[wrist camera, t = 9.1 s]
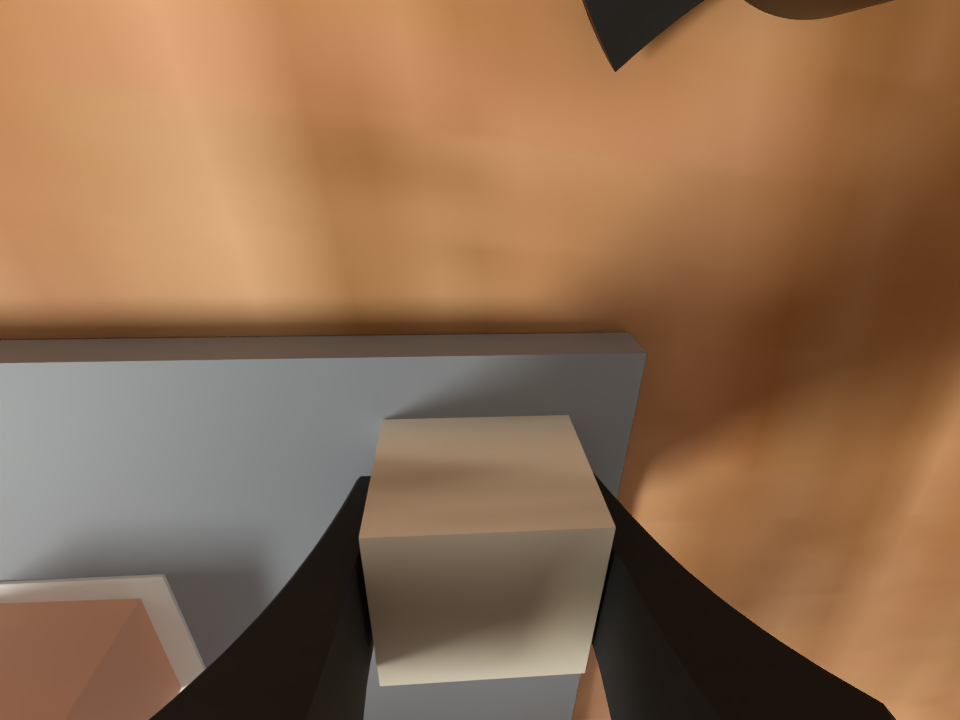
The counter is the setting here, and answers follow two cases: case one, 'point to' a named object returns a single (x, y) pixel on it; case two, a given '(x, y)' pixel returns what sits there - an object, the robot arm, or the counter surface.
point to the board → (262, 470)
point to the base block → (82, 661)
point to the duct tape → (659, 3)
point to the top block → (482, 549)
